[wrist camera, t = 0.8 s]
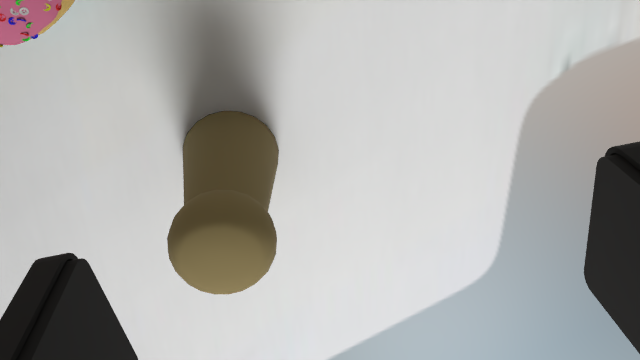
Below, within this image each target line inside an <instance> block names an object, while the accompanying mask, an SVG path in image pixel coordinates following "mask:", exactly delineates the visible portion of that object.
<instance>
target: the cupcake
mask: <svg viewBox="0 0 640 360" xmlns="http://www.w3.org/2000/svg"><path fill="white" fill-rule="evenodd" d="M73 2H74V0H0V47H3V45H16V44H20V43H23V42H25V41H28V40H30V39H31V38H33V39H35V38H37V37H38V35H40V34H42V33H44V32H45V31H46V30H48V29H49V28H50V27H51V26H52V25H53V24H55V23H56V22H57V21H58V20H59V19H60V18H61V17H62V16H63V15H64V14H65V13H66V11H67V10H68V9H69V8H70V7H71V5H72V4H73Z"/></svg>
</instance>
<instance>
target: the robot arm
mask: <svg viewBox="0 0 640 360" xmlns="http://www.w3.org/2000/svg"><path fill="white" fill-rule="evenodd" d="M584 275H585V280H586V283H587V285H588V287H589V289H590V290H591V292H592V293H593V294H594V296H595V297H596V298H597V300H598V301H599V302H600V303H601V304H602V306H603V307H604V309H605V310H606V311H607V312H608V314H609V315H610V316H611V318H612V319H613V320H614V321H615V323H616V324H617V325H618V327H619V328H620V329H621V330H622V332H623V333H624V334H625V336H626V337H627V338H628V339H629V341H630V342H631V343H632V345H633V346H634V347H635V348H636V350H637V351H638V352H639V354H640V142H635V143H630V144H625V145H620V146H615V147H611V148H609V149H608V150H607V152H606V154H605V157H601V158H600V159H599V160H598V162H597V167H596V176H595V183H594V192H593V200H592V209H591V217H590V225H589V233H588V241H587V250H586V258H585V266H584ZM0 360H138V358H137V355H136V354H135V352H134V350H133V348H132V346H131V344H130V342H129V340H128V338H127V336H126V334H125V332H124V330H123V328H122V327H121V325H120V323H119V321H118V319H117V317H116V315H115V313H114V311H113V309H112V307H111V305H110V303H109V301H108V300H107V298H106V296H105V294H104V292H103V290H102V288H101V286H100V284H99V282H98V280H97V278H96V276H95V275H94V273H93V271H92V269H91V267H90V265H89V263H88V262H87V261H86V260H85V259H78V258H77V257H76V256H75V255H74V254H72V253H66V254H61V255H55V256H50V257H45V258H40V259H38V260H36V261H35V262H34V263H33V265H32V266H31V268H30V270H29V271H28V273H27V275H26V277H25V278H24V280H23V282H22V283H21V285H20V287H19V289H18V290H17V292H16V294H15V295H14V297H13V299H12V301H11V302H10V304H9V306H8V308H7V309H6V311H5V313H4V314H3V316H2V318H1V320H0Z"/></svg>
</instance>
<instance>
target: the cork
mask: <svg viewBox="0 0 640 360" xmlns="http://www.w3.org/2000/svg"><path fill="white" fill-rule="evenodd" d="M278 152H279V150H278V146H277V143H276V140H275V137H274V135H273V134H272V133H271V131H270V130H269V128H268V127H267V126H266V125H265V124H264V123H262V122H261V121H259V120H258V119H257V118H255V117H254V116H251V115H248V114H245V113H242V112H236V111H222V112H218V113H214V114H210V115H208V116H206V117H204V118H203V119H201V120H200V121H198V122H196V123H195V125H194V126H193V127H192V128H191V130H190V131H189V132H188V133H187V136H186V139H185V142H184V145H183V174H184V206H183V207H182V208H181V210H180V211H179V212H178V213H177V214H176V216H175V217H174V219H173V222H172V225H171V228H170V230H169V234H168V238H167V239H168V253H169V259H170V261H171V263H172V265H173V267H174V269H175V271H176V272H177V273H178V274H179V275H180V276H181V277H182V278H183V279H184V280H185V281H186V282H187V283H188V284H189V285H191V286H192V287H194V288H196V289H198V290H200V291H203V292H208V293H212V294H231V293H236V292H240V291H243V290H245V289H247V288H249V287H250V286H252V285H254V284H255V283H257V282H258V281H259V280H260V279H261V278H262V277H263V276H264V275H265V274H266V273H267V272H268V270H269V268H270V266H271V264H272V262H273V260H274V257H275V254H276V243H277V236H276V230H275V227H274V224H273V221H272V219H271V217H270V215H269V213H268V208H269V203H270V198H271V194H272V189H273V184H274V179H275V174H276V169H277V165H278Z"/></svg>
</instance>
